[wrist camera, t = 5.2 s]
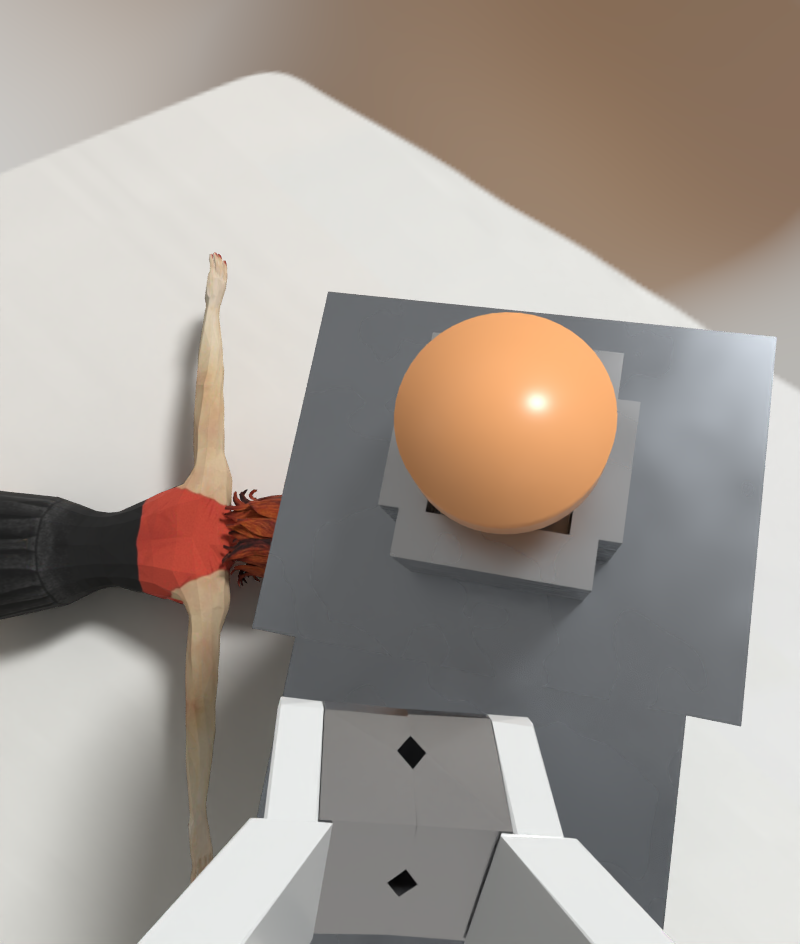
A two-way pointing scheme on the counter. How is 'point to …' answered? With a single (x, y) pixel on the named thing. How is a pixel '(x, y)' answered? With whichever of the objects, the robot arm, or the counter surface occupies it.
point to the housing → (535, 571)
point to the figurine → (155, 555)
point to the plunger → (506, 422)
